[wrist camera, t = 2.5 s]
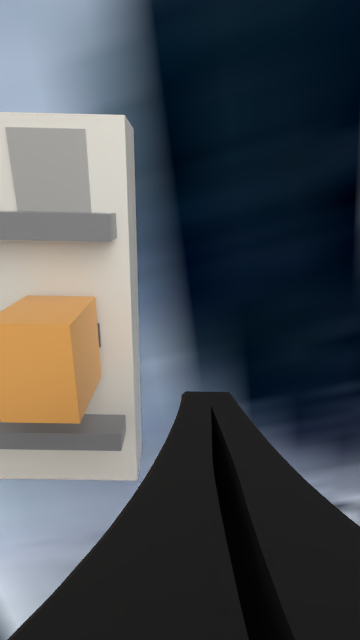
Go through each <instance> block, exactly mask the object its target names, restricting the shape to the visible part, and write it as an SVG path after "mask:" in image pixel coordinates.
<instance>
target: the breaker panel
mask: <svg viewBox="0 0 360 640" xmlns="http://www.w3.org/2000/svg"><path fill="white" fill-rule="evenodd" d="M27 295H33V296H86V297H95V299H96V312H97V326H98V339H99V352H100V365H101V378H100V380H99V383H98V385H97V387H96V389H95V392H94V394H93V396H92V398H91V400H90V403H89V405H88V407H87V409H86V412H85V414H84V416H83V418H82V420H81V423H80V424H73V423H10V422H1V421H0V479H58V480H127V481H137V479H138V473H139V466H140V460H141V453H142V425H141V388H140V351H139V314H138V276H137V239H136V202H135V164H134V129H133V128H132V126H131V125H130V123H129V121H128V120H127V118H126V117H125V115H101V114H58V113H15V112H0V311H2V310H4V309H5V308H7V307H9V306H10V305H12V304H14V303H15V302H17V301H18V300H20V299H22V298H23V297H25V296H27Z"/></svg>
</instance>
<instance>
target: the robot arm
mask: <svg viewBox="0 0 360 640" xmlns="http://www.w3.org/2000/svg"><path fill="white" fill-rule="evenodd" d="M8 640H360V526H358V525H357V524H356V523H355V522H353V521H352V520H351V519H349V518H348V517H347V516H346V515H345V514H343V513H342V512H341V511H340V510H339V509H337V508H336V507H335V506H334V505H333V504H331V503H330V502H329V501H328V500H327V499H326V498H325V497H324V496H322V495H321V494H320V493H319V492H318V491H317V490H316V489H315V488H313V487H312V486H311V485H310V484H309V483H308V482H307V481H306V480H305V479H304V478H303V477H302V476H301V475H300V474H299V473H298V472H297V471H295V469H294V468H293V467H292V466H291V465H290V464H289V463H288V462H287V461H286V460H285V459H284V458H283V457H282V456H281V455H280V454H279V453H278V452H277V451H276V449H275V448H274V447H273V446H272V445H271V444H270V443H269V442H268V440H267V439H266V438H265V437H264V436H263V435H262V433H261V432H260V431H259V430H258V429H257V428H256V426H255V425H254V424H253V423H252V422H251V420H250V419H249V418H248V416H247V415H246V414H245V413H244V411H243V410H242V409H241V407H240V406H239V405H238V403H237V402H236V401H235V399H234V398H233V397H232V395H231V394H230V393H229V392H185V393H184V394H182V399H181V404H180V408H179V411H178V414H177V416H176V419H175V422H174V424H173V426H172V428H171V431H170V433H169V435H168V437H167V440H166V442H165V444H164V445H163V447H162V449H161V451H160V453H159V455H158V456H157V458H156V460H155V462H154V464H153V466H152V467H151V469H150V471H149V472H148V474H147V475H146V477H145V479H144V480H143V482H142V483H141V485H140V486H139V488H138V489H137V491H136V492H135V494H134V495H133V497H132V498H131V500H130V501H129V502H128V504H127V505H126V506H125V508H124V509H123V510H122V512H121V513H120V514H119V516H118V517H117V518H116V520H115V521H114V523H113V524H112V525H111V526H110V528H109V529H108V530H107V531H106V533H105V534H104V535H103V536H102V538H101V539H100V540H99V541H98V543H97V544H96V545H95V546H94V547H93V548H92V550H91V551H90V552H89V553H88V554H87V555H86V556H85V558H84V559H83V560H82V561H81V562H80V563H79V564H78V566H77V567H76V568H75V569H74V570H73V571H72V572H71V574H70V575H69V576H68V577H67V578H66V579H65V580H64V582H63V583H62V584H61V585H60V586H59V587H58V588H57V589H56V590H55V592H54V593H53V594H52V595H51V596H50V597H49V598H48V599H47V600H46V601H45V602H44V603H43V604H42V605H41V606H40V607H39V608H38V609H37V610H36V611H35V612H34V613H33V614H32V615H31V616H30V617H29V618H28V619H27V620H26V621H25V622H24V623H23V624H22V625H21V626H20V627H19V628H18V629H17V630H16V632H15V633H14V634H13V635H12V636H11V637H10V638H9V639H8Z"/></svg>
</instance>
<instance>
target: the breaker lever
mask: <svg viewBox="0 0 360 640" xmlns="http://www.w3.org/2000/svg"><path fill="white" fill-rule="evenodd" d="M100 378H101V365H100V352H99V339H98V326H97V312H96V299H95V297H86V296H33V295H27V296H25V297H23V298H22V299H20V300H18V301H17V302H15V303H14V304H12V305H10V306H9V307H7V308H5V309H4V310H2V311H0V421H1V422H10V423H73V424H80V423H81V420H82V418H83V416H84V414H85V412H86V409H87V407H88V405H89V403H90V400H91V398H92V396H93V394H94V392H95V389H96V387H97V385H98V383H99V380H100Z"/></svg>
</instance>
